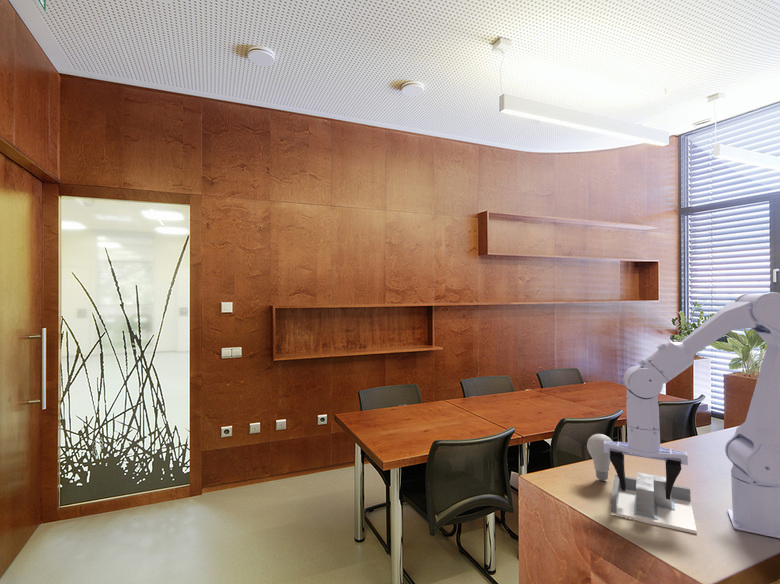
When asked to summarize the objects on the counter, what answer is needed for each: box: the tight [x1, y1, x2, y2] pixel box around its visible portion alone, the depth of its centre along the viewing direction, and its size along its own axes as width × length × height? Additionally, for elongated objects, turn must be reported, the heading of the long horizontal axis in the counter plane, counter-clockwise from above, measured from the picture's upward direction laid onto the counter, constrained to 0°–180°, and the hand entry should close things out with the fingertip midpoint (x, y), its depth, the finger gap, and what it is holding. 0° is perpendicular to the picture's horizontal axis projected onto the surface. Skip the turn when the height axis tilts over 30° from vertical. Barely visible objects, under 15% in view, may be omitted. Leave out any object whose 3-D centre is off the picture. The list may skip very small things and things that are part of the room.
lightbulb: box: [586, 433, 614, 482], centre depth 100 cm, size 6×6×11 cm
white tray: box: [609, 474, 698, 535], centre depth 86 cm, size 14×14×3 cm
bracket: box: [636, 471, 672, 518], centre depth 85 cm, size 9×6×5 cm, turn 148°
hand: (645, 493), depth 85 cm, fingers open, 7 cm apart
